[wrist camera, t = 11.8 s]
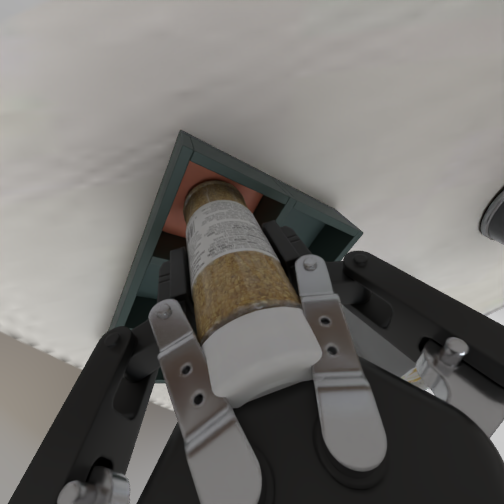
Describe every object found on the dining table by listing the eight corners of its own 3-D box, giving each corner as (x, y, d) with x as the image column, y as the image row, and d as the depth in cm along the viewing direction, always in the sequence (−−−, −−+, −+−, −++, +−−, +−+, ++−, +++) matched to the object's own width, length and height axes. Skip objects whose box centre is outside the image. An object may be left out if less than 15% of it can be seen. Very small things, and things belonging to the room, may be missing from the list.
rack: (335, 209, 22) (364, 232, 19) (232, 350, 31) (239, 383, 28) (180, 129, 15) (182, 144, 12) (104, 340, 24) (93, 383, 21)
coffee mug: (405, 268, 31) (484, 334, 23) (398, 312, 37) (459, 375, 29) (309, 310, 30) (356, 391, 23) (319, 346, 37) (358, 420, 29)
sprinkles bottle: (230, 241, 19) (298, 435, 9) (173, 225, 17) (176, 454, 7) (255, 191, 17) (380, 364, 7) (195, 166, 15) (245, 360, 5)
